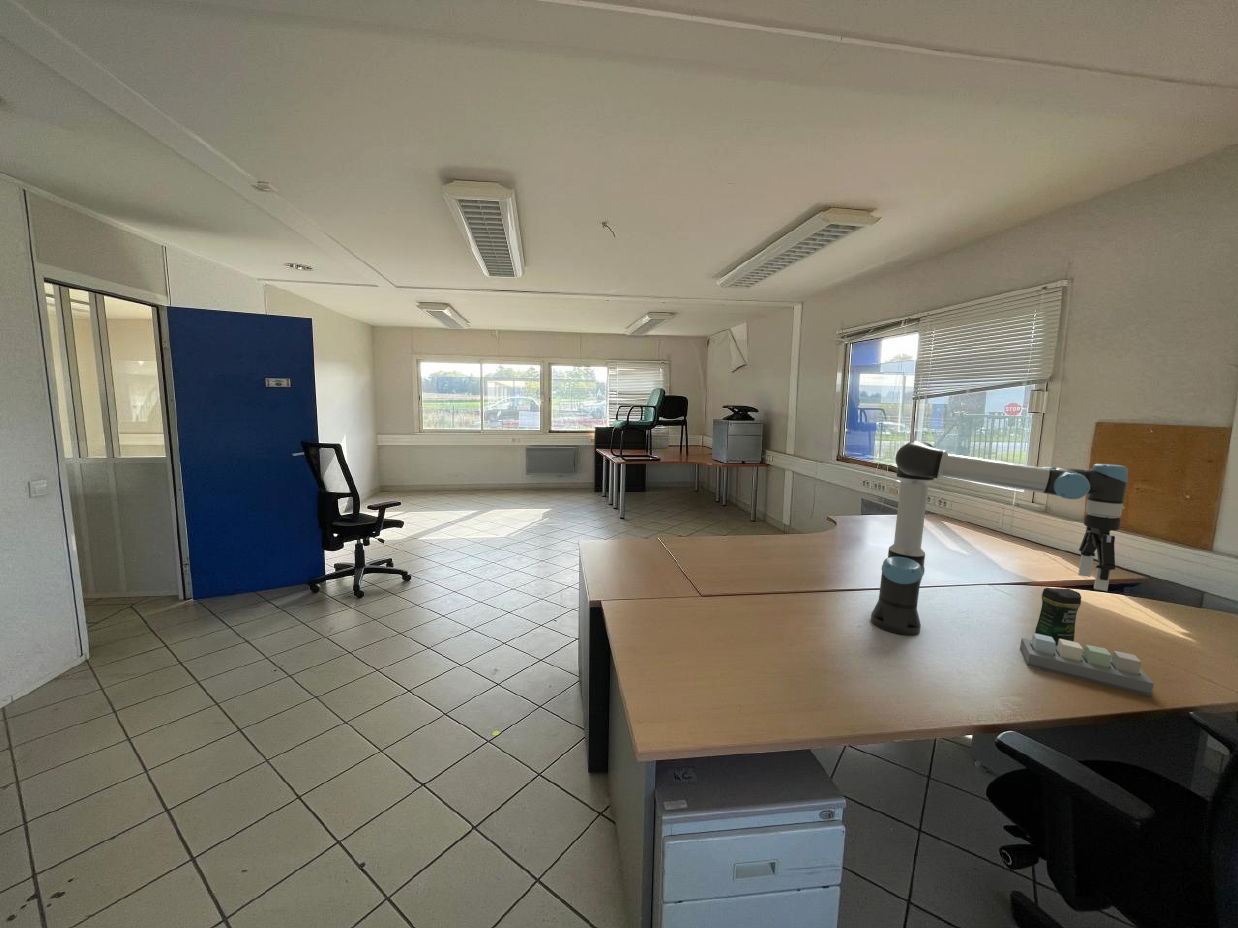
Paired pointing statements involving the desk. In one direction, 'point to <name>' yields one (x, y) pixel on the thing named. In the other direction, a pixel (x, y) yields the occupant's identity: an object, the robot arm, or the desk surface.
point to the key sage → (1097, 656)
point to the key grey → (1126, 662)
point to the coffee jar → (1058, 613)
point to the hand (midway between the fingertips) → (1092, 582)
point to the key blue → (1043, 643)
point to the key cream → (1069, 649)
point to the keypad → (1086, 670)
